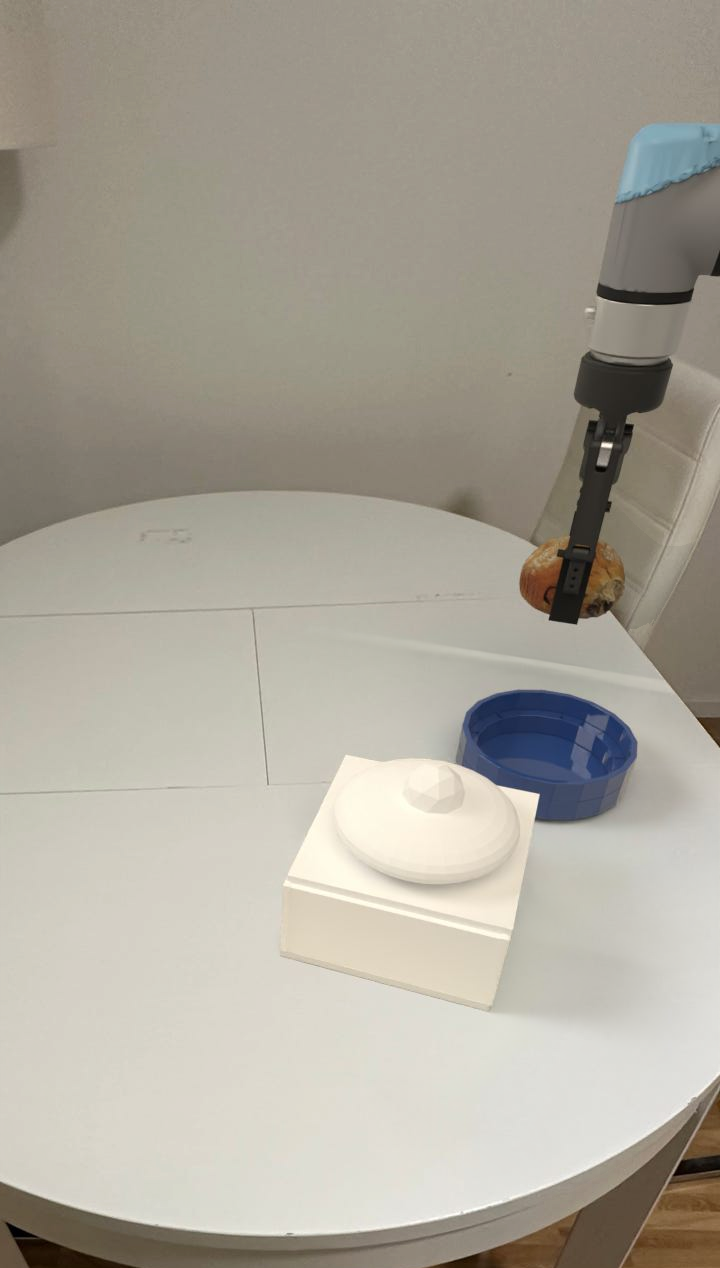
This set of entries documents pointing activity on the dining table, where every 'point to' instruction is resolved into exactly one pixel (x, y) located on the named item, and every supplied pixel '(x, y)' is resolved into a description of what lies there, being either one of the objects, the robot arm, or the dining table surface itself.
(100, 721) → the dining table surface
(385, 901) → the white lidded square jar
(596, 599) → the bread roll
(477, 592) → the dining table surface
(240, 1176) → the dining table surface
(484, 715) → the bowl
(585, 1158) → the dining table surface
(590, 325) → the robot arm
